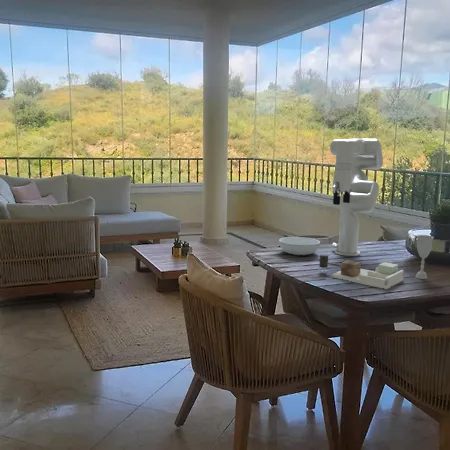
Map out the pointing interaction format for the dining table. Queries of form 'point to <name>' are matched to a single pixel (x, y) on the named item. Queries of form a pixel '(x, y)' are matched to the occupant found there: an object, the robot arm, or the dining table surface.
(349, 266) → the joystick
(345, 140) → the robot arm
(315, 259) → the dining table surface
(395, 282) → the white joystick tray
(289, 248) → the serving bowl
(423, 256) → the chalice
